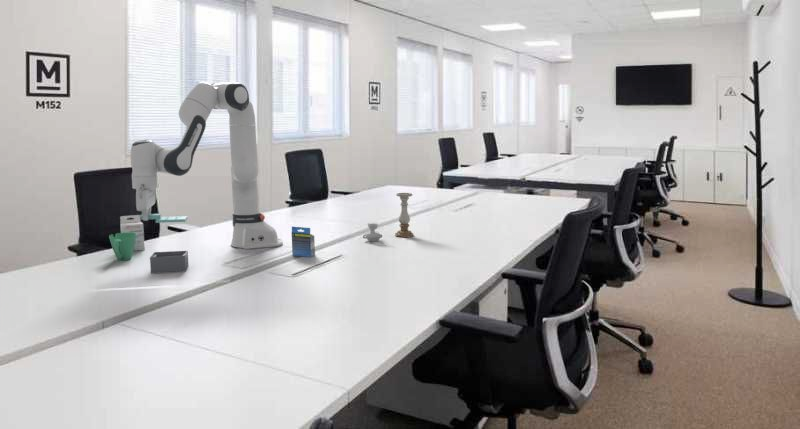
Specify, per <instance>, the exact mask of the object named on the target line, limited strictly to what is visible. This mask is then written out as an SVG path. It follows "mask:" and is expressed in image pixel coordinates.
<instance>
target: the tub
mask: <svg viewBox="0 0 800 429" xmlns="http://www.w3.org/2000/svg"><path fill="white" fill-rule="evenodd" d="M149 263H150V266H149V267H150V274H167V273H170V274H171V273H185V272H187V270H188V268H189V252H188V250H172V251H153V253H152V254H151V255H150V256H149Z"/></svg>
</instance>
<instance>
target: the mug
mask: <svg viewBox="0 0 800 429" xmlns="http://www.w3.org/2000/svg"><path fill="white" fill-rule="evenodd" d="M108 238H109V241H110V244H111V247H112V250H113V253H114V255H115V257H116V259H117V260H118V261H121V262H122V261H128V260H129V259H130V260H131V259H132V257H133V253H134V251H133V250H134V246H135V240H136V234H135V233H121V232H117V233H115V234H112V233H111V234H109V235H108Z"/></svg>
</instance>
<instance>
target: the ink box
mask: <svg viewBox="0 0 800 429" xmlns="http://www.w3.org/2000/svg"><path fill="white" fill-rule="evenodd" d="M140 215H141V214H136V215H135V214H133V215H123V216H122V215H121V216H120V217H119V219H120V233H135V234H136V240H135V246H134V250H133V252H135V251H136V252H137V250H138V251H145V250H146V249H145V232H144V230H145V229H144V223H143V222H142V221H141V217H140ZM130 218H131V219H130Z"/></svg>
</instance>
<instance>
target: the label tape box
mask: <svg viewBox="0 0 800 429" xmlns="http://www.w3.org/2000/svg"><path fill="white" fill-rule="evenodd" d="M315 245H316V244H315V235H313V234H311V227H302V226H301V227H300V226H291V250H292V251H291V252H292V256H293V257H305V258H306V257H308V258H309V257H310V258H312V257H314V256H315V255H316V246H315Z"/></svg>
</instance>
